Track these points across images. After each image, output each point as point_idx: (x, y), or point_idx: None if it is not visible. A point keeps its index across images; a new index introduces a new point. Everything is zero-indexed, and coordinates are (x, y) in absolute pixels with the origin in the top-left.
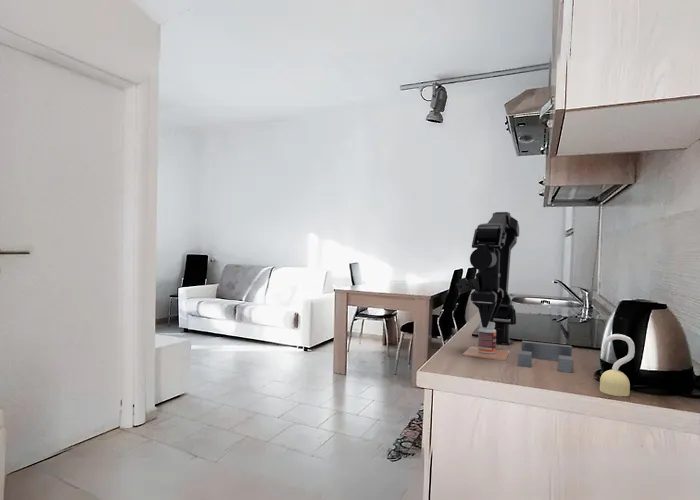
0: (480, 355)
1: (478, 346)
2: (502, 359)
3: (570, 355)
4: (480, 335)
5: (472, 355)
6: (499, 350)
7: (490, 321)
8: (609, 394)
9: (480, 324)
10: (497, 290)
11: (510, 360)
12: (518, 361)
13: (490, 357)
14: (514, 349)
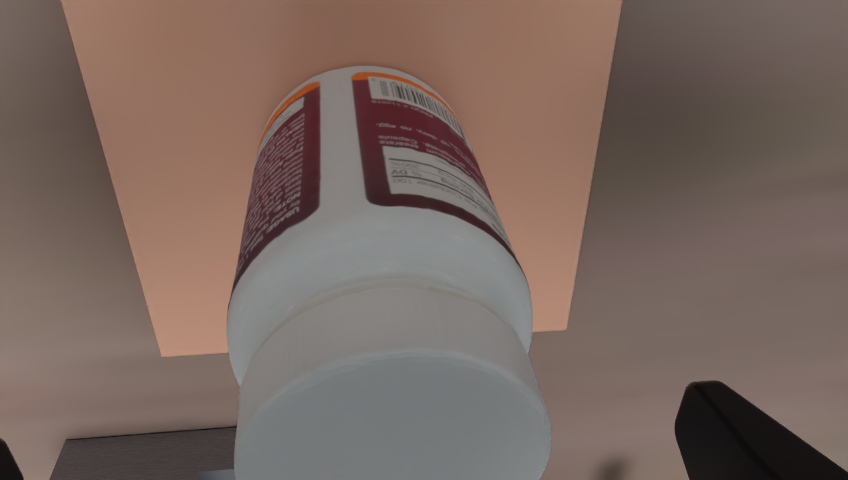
0: (131, 133)
1: (312, 100)
2: (159, 332)
3: None
4: (261, 221)
5: (74, 38)
6: (541, 253)
7: (688, 440)
8: None
9: (305, 338)
10: None
11: (217, 373)
12: (52, 473)
13: (128, 239)
14: (723, 328)
